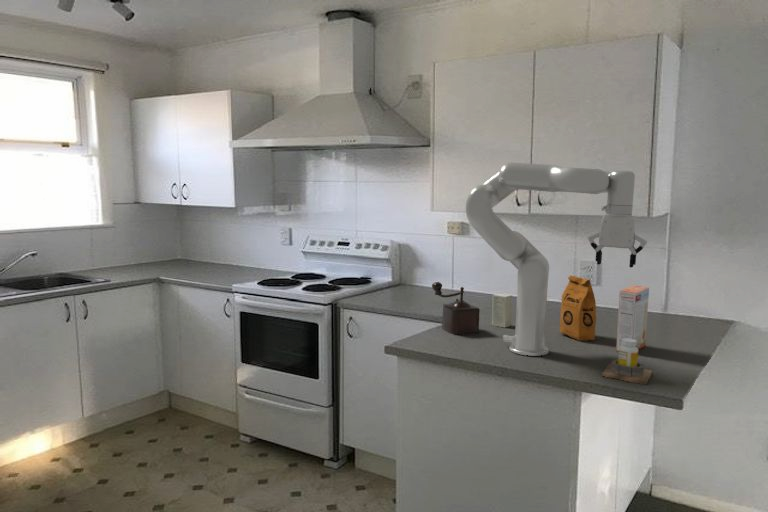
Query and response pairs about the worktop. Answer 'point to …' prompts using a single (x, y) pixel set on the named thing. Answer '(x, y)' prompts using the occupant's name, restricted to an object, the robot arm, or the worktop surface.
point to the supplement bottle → (628, 353)
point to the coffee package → (578, 310)
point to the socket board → (628, 372)
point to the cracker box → (632, 315)
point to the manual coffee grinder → (458, 314)
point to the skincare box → (501, 310)
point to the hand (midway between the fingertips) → (615, 265)
